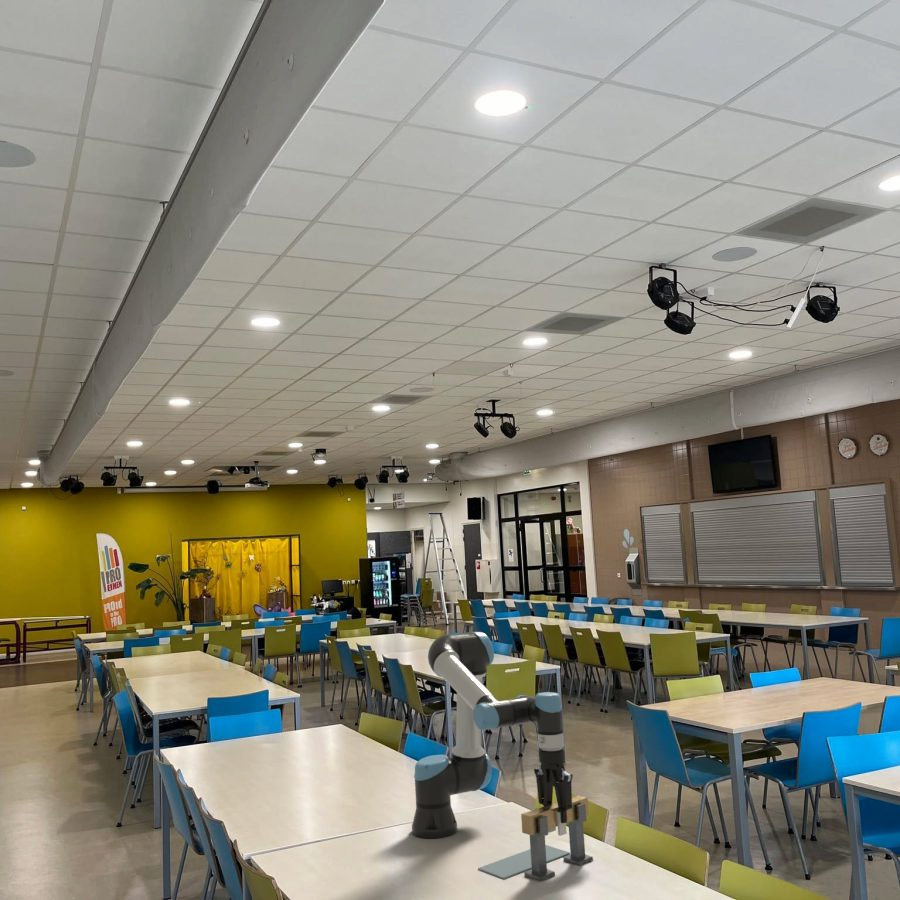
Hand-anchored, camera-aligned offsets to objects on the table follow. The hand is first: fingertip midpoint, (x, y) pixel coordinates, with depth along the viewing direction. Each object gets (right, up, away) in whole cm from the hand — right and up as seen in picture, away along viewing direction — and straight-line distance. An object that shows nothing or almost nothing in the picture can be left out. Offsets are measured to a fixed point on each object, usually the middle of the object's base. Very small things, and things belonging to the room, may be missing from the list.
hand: (557, 832), depth 235 cm
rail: (0, +2, 0) cm, 2 cm away
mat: (-9, -11, +5) cm, 15 cm away
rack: (+1, -9, -1) cm, 10 cm away
